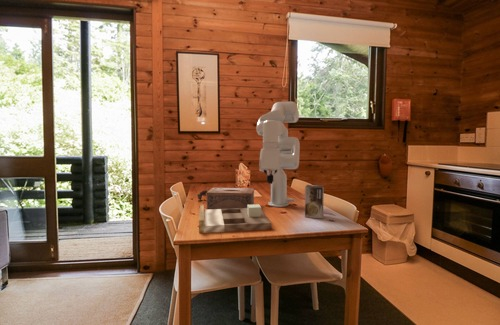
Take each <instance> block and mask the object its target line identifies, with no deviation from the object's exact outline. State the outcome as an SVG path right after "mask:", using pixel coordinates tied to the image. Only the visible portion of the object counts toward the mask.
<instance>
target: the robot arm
mask: <svg viewBox="0 0 500 325" xmlns="http://www.w3.org/2000/svg"><path fill="white" fill-rule="evenodd" d="M299 118H300V114H299V108H298V104H297V103H296V102H295V101H277V102H275V103H274V104H273V105H272V107H271V110H270V111H269V112H267V113H265V114H262V115H261V116H260V117H259V118H258V120H257V123H256V127H255V130H256V133H257V135H258V136H262V148H260V152H259V164H258V166H259V172H263V173H264V174H265V175H266V182H267V184H268V185H269V184H270V201H268V202H267V204H268V205H269V206H270V207H274V208H282V207H283V208H285V207H287V206H289V205H290V203H289V202H295V198H293V197H292V198H291V197H287V187H288V185H287V180H288V178H287V173H285V171H284V170H296V169H298V168H299V165H300V152H301V151H300V145H301V144H300V140H299V138H297V137H295V136H289V129H288V127H286V126H285V124H286V123H287V124H288V123H289V124H290V123H291V124H292V123H297V122H298V120H299ZM284 123H285V124H284Z"/></svg>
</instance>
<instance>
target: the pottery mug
mask: <svg viewBox="0 0 500 325" xmlns="http://www.w3.org/2000/svg"><path fill="white" fill-rule="evenodd" d="M208 191H209V190H207V188H205V189H204V190H202V191H200V192H199V193H198V194H196V196H197V199H198V200H200V201H201V200H202V198H203V197H207V192H208Z"/></svg>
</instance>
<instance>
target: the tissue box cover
mask: <svg viewBox="0 0 500 325" xmlns="http://www.w3.org/2000/svg"><path fill="white" fill-rule="evenodd" d="M207 191H208V192H207V193H206V195H207V196H206V210H209V209H235V208H247V205H253V204H255V189H254V187H253V188H250V187H249V188H248V187H247V188H246V187H245V188H244V187H243V188H242V187H211V188H210V189H209V190H207Z"/></svg>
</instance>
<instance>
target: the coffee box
mask: <svg viewBox="0 0 500 325" xmlns="http://www.w3.org/2000/svg"><path fill="white" fill-rule="evenodd" d="M324 188H325V186H324V185H316V184H314V185H313V184H306V186H305V187H304V189H305V190H304V197H305V198H304V200H305V201H304V218H310V219H311V218H312V219H313V218H314V219H324V194H325V193H324V190H325V189H324Z"/></svg>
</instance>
